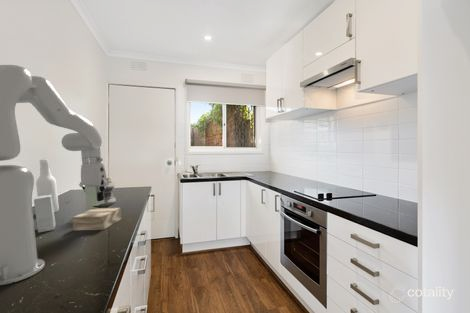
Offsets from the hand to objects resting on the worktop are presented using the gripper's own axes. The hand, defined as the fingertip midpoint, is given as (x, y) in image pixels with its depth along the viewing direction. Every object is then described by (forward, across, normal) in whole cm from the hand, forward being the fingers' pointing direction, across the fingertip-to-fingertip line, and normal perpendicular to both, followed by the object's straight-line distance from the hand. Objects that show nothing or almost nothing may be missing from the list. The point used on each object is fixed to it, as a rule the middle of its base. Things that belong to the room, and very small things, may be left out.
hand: (95, 200), depth 110 cm
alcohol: (+12, +45, -16) cm, 49 cm away
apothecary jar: (+12, +12, -19) cm, 25 cm away
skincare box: (+12, +20, +7) cm, 24 cm away
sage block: (+2, 0, 0) cm, 2 cm away
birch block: (+12, 0, 0) cm, 12 cm away
